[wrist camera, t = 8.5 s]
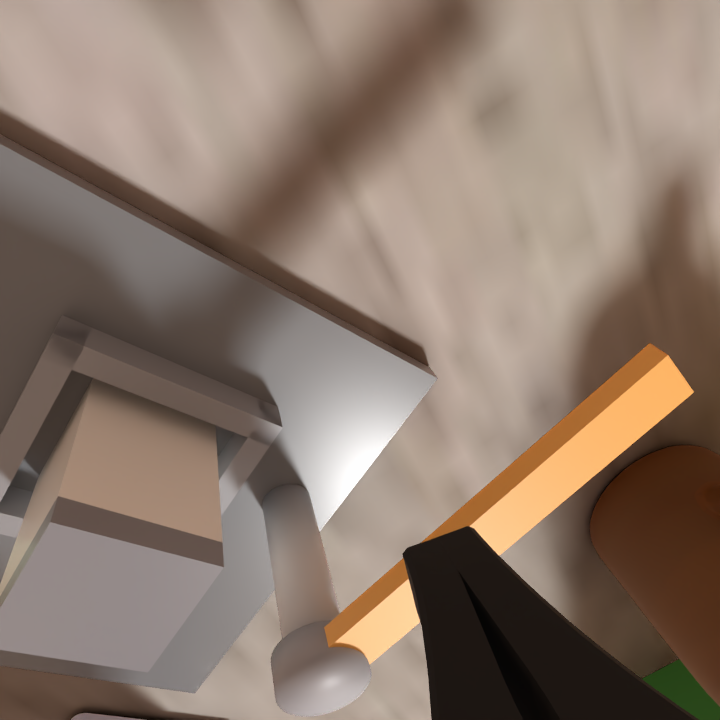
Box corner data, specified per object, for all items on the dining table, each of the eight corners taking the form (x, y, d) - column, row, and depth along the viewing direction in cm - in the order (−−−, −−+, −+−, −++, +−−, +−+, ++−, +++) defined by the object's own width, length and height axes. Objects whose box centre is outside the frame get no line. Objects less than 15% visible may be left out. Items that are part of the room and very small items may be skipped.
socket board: (194, 676, 26) (195, 852, 20) (-349, 591, 17) (-607, 852, 12) (429, 367, 21) (517, 486, 15) (-171, 41, 12) (-470, 38, 7)
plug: (159, 511, 20) (147, 672, 15) (39, 475, 18) (-22, 646, 13) (215, 424, 19) (223, 567, 14) (93, 377, 17) (49, 522, 12)
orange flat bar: (251, 666, 15) (254, 702, 15) (635, 327, 13) (665, 346, 12) (317, 690, 17) (324, 724, 16) (677, 386, 14) (707, 407, 14)
